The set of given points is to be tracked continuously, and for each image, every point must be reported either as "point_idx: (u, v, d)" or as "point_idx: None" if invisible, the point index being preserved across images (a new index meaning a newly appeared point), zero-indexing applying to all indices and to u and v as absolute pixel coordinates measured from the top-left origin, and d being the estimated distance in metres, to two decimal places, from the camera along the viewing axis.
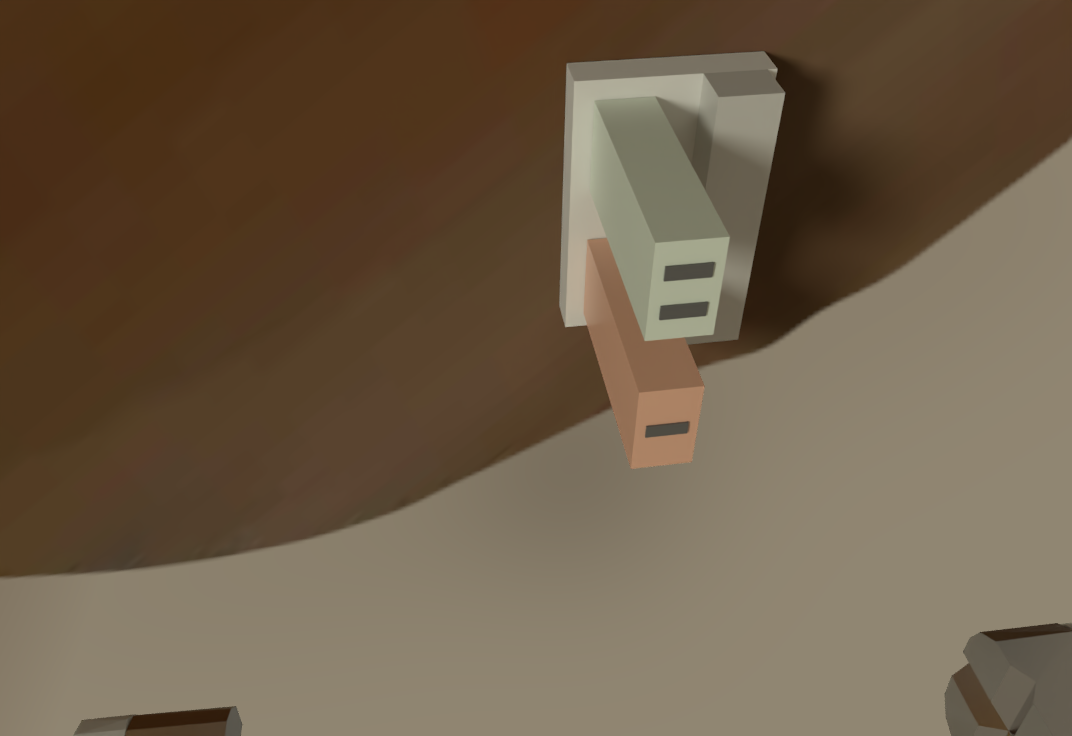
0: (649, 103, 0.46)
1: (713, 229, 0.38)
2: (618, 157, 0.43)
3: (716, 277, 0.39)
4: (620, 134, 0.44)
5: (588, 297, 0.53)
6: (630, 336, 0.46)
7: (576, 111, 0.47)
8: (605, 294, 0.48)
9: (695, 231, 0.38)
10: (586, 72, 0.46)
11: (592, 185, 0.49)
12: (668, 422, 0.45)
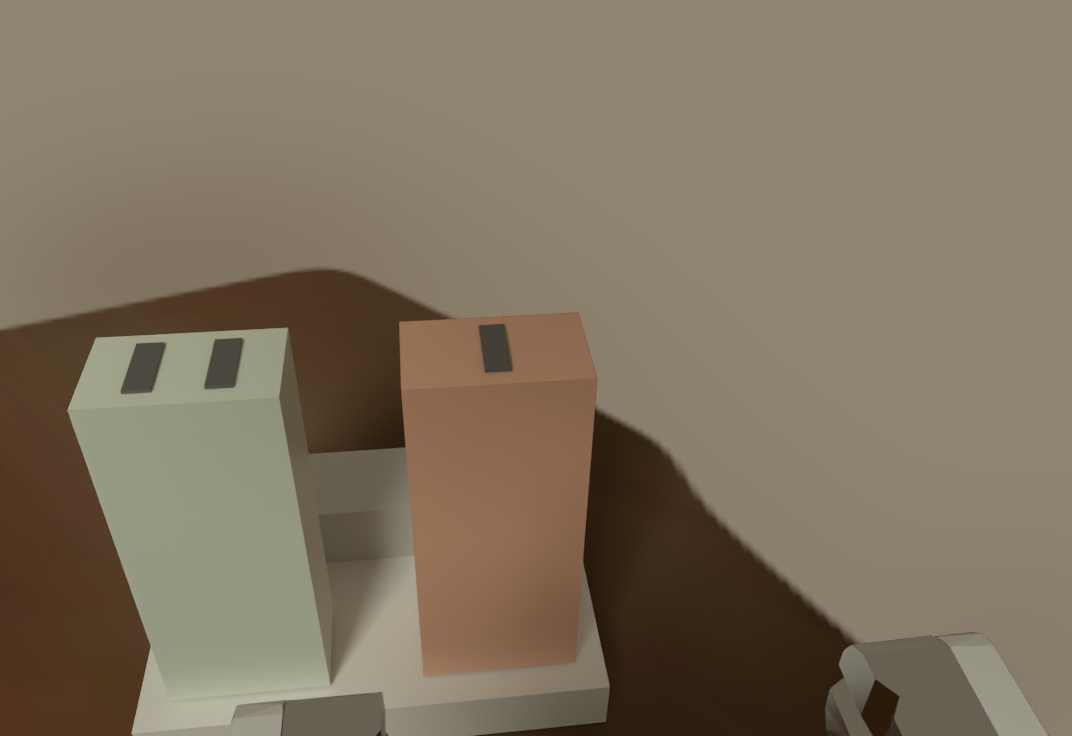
0: None
1: None
2: (133, 590, 0.28)
3: (170, 340, 0.26)
4: None
5: (517, 647, 0.31)
6: None
7: (184, 724, 0.30)
8: (419, 580, 0.29)
9: None
10: None
11: (307, 677, 0.31)
12: (478, 348, 0.26)
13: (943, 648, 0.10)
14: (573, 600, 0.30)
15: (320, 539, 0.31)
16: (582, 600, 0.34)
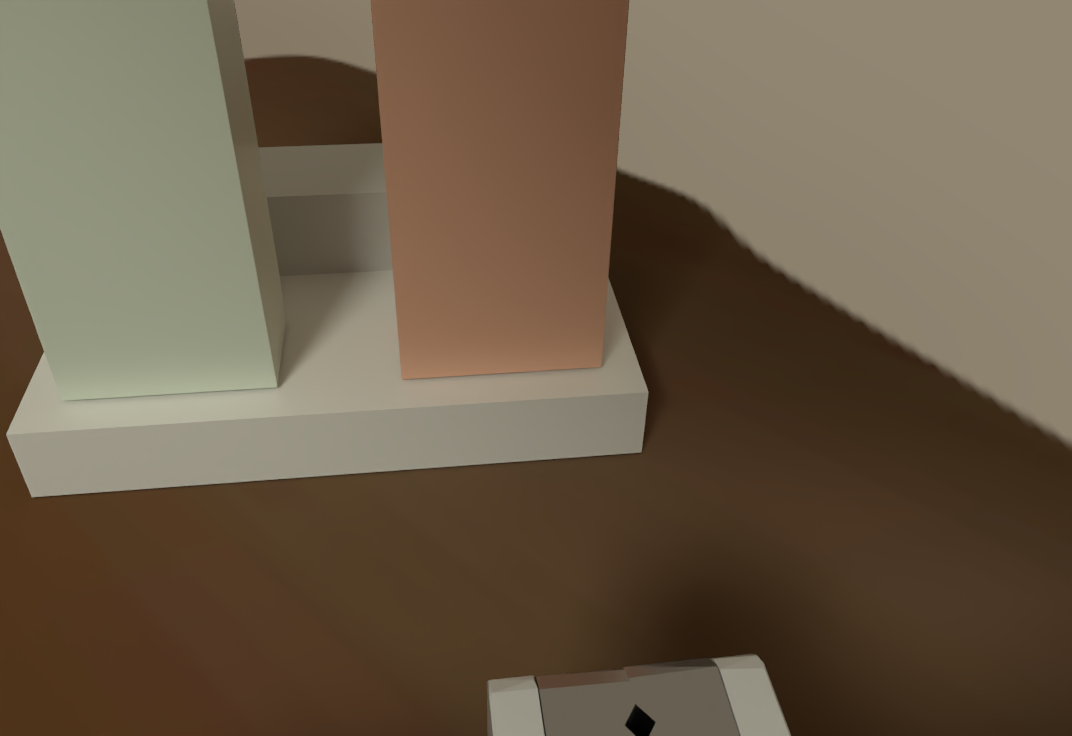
0: None
1: None
2: None
3: None
4: None
5: (526, 337, 0.24)
6: None
7: (79, 425, 0.22)
8: (391, 208, 0.21)
9: None
10: None
11: (246, 371, 0.23)
12: None
13: (712, 670, 0.10)
14: (601, 258, 0.23)
15: (262, 188, 0.23)
16: (608, 311, 0.27)
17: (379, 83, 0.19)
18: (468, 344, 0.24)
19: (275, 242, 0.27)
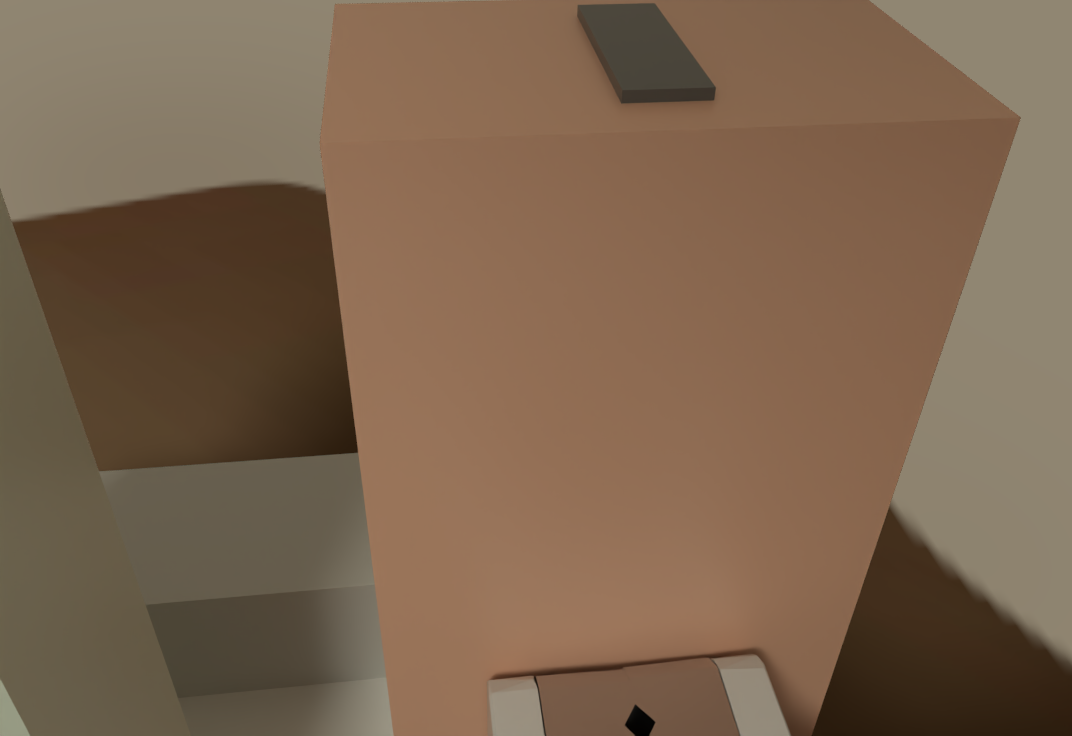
0: None
1: None
2: None
3: None
4: None
5: None
6: None
7: None
8: None
9: None
10: None
11: None
12: (587, 54, 0.08)
13: (713, 670, 0.10)
14: None
15: (160, 682, 0.12)
16: None
17: (379, 585, 0.09)
18: None
19: (205, 655, 0.16)
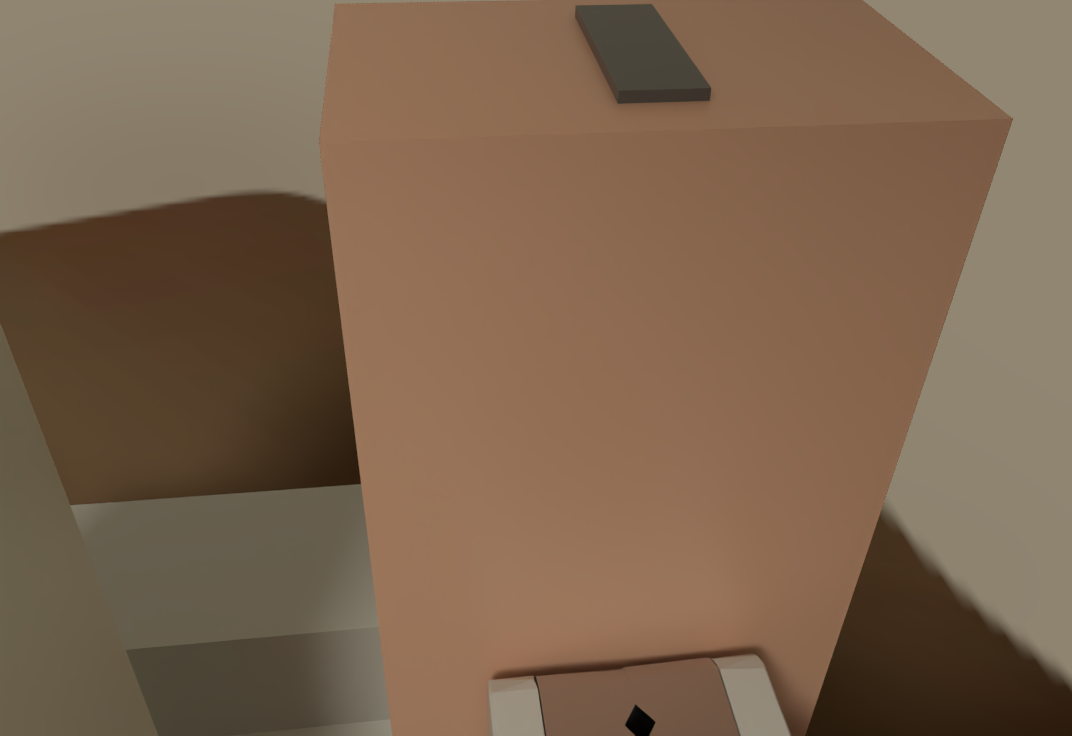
0: None
1: None
2: None
3: None
4: None
5: None
6: None
7: None
8: None
9: None
10: None
11: None
12: (584, 53, 0.08)
13: (712, 671, 0.10)
14: None
15: None
16: None
17: (377, 580, 0.09)
18: None
19: (196, 699, 0.16)
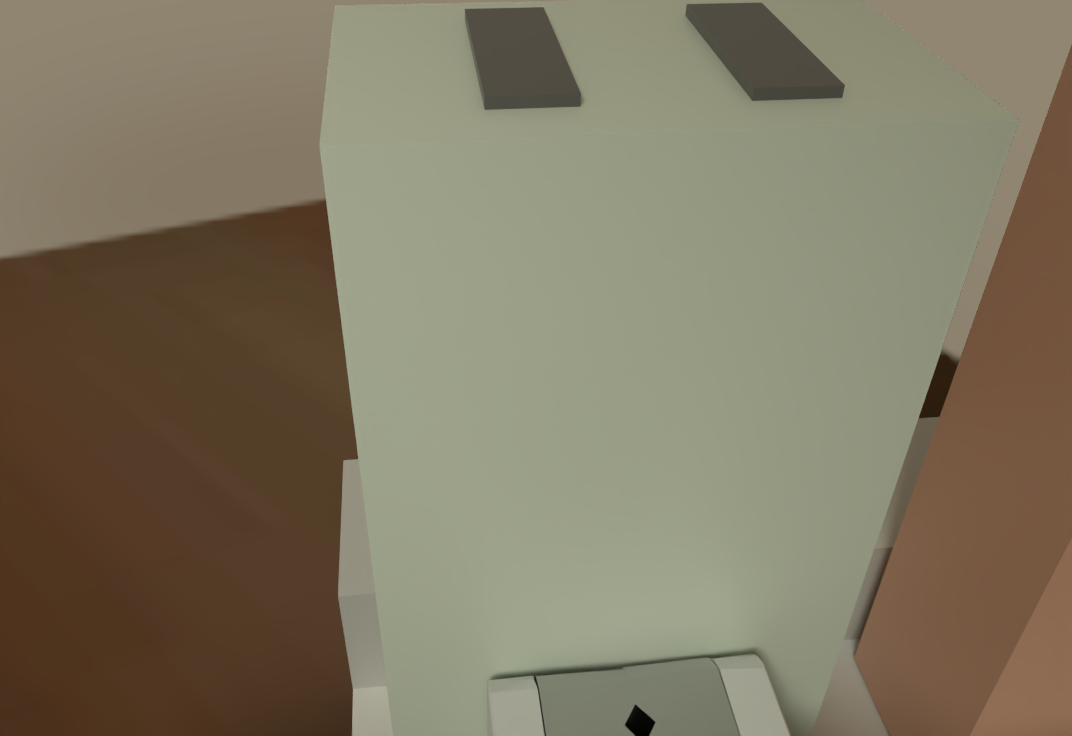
0: None
1: None
2: (396, 718, 0.11)
3: (552, 9, 0.09)
4: None
5: None
6: None
7: None
8: (1030, 627, 0.12)
9: None
10: None
11: None
12: None
13: (713, 670, 0.10)
14: None
15: None
16: None
17: None
18: None
19: None
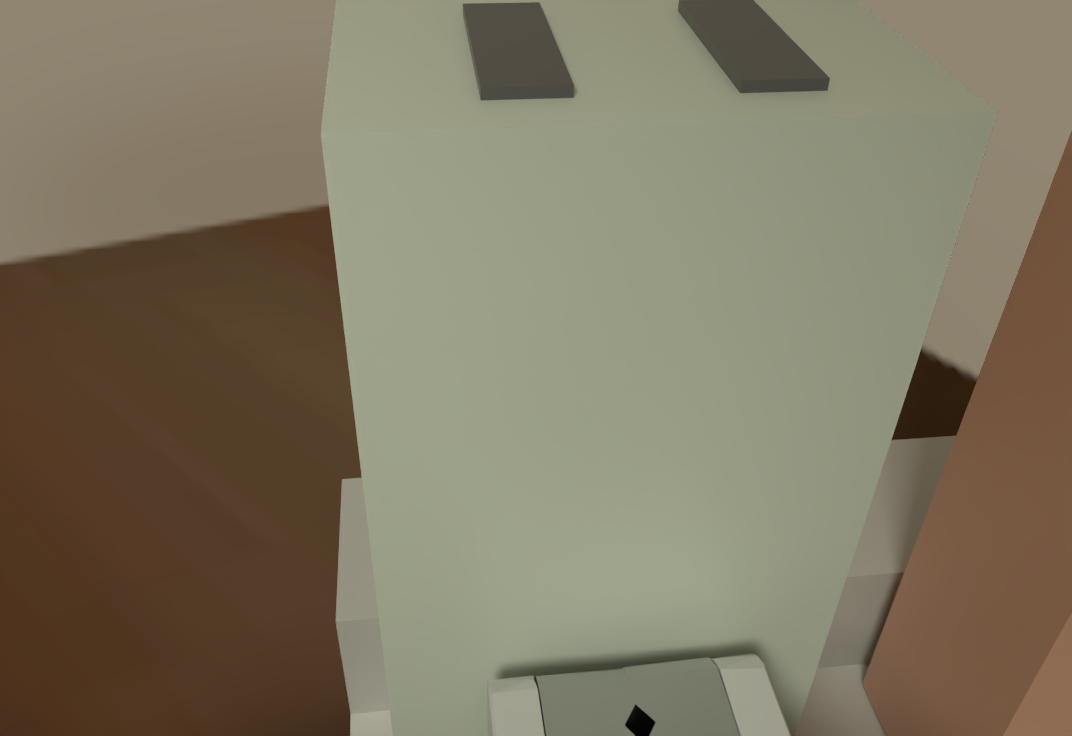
0: None
1: None
2: (394, 698, 0.11)
3: (547, 6, 0.09)
4: None
5: None
6: None
7: None
8: (1048, 663, 0.12)
9: None
10: None
11: None
12: None
13: (712, 671, 0.10)
14: None
15: None
16: None
17: None
18: None
19: None
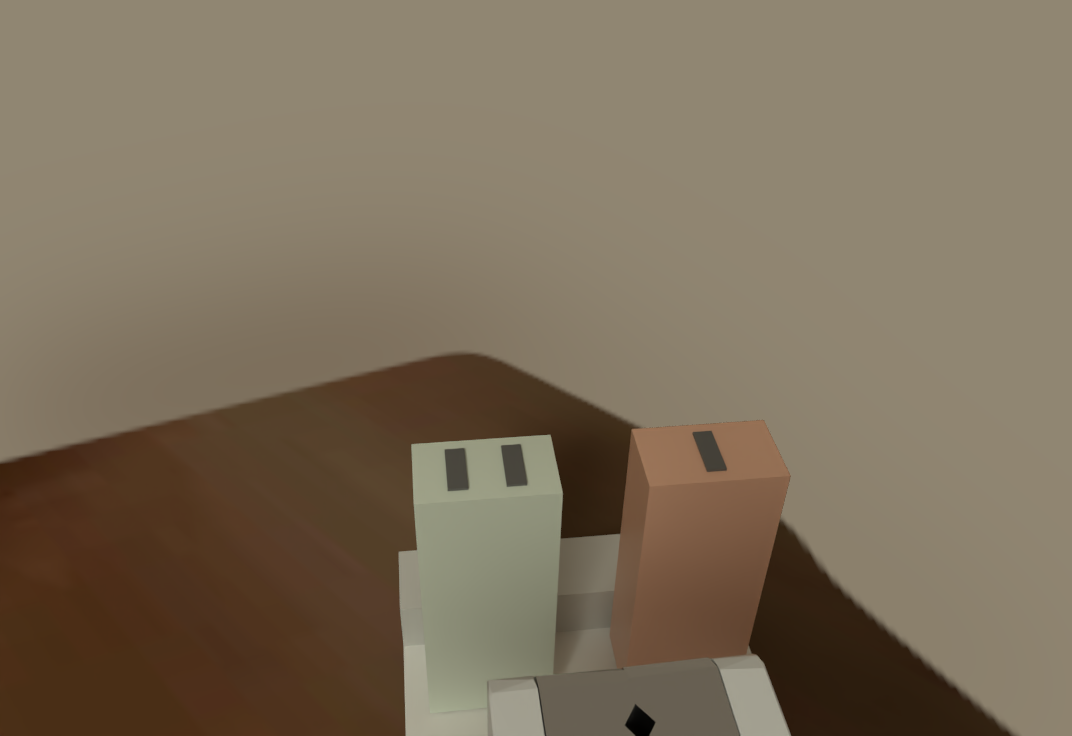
0: None
1: None
2: (425, 631, 0.36)
3: (467, 445, 0.35)
4: None
5: None
6: (637, 552, 0.36)
7: None
8: (634, 621, 0.38)
9: None
10: None
11: None
12: (697, 451, 0.35)
13: (713, 670, 0.10)
14: (746, 635, 0.39)
15: None
16: None
17: (639, 573, 0.36)
18: None
19: None
